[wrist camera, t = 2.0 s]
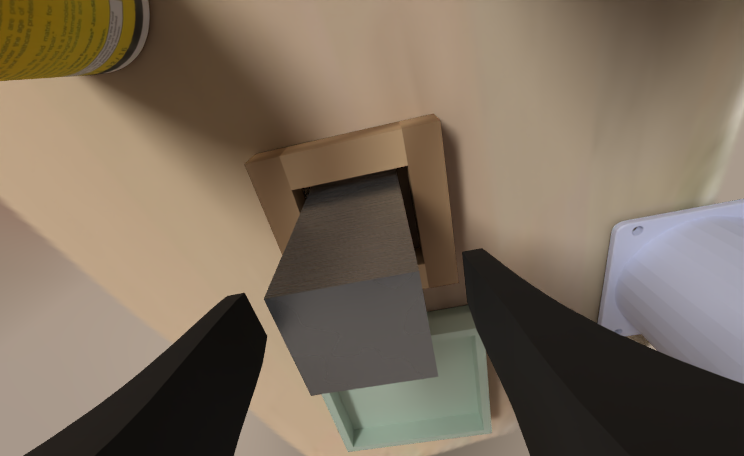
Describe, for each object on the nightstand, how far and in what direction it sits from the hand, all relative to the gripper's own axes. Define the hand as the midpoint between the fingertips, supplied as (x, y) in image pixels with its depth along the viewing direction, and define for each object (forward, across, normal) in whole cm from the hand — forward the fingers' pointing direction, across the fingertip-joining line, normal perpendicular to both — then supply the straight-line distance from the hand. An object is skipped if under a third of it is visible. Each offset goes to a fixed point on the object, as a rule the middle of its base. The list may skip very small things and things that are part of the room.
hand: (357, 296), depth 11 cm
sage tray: (+6, 0, +12) cm, 13 cm away
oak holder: (+6, 0, 0) cm, 6 cm away
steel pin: (+6, 0, 0) cm, 6 cm away
